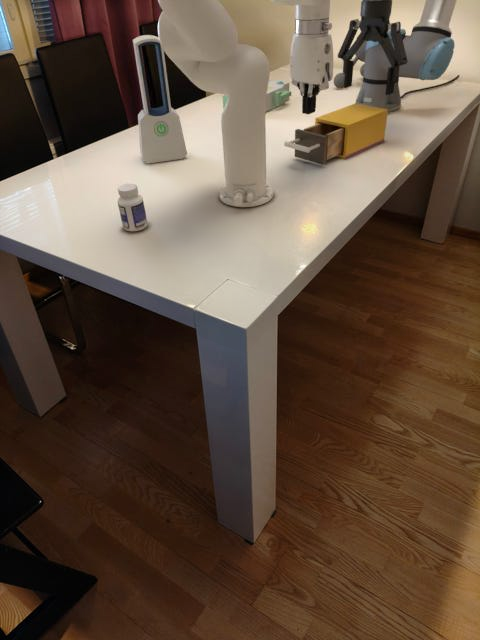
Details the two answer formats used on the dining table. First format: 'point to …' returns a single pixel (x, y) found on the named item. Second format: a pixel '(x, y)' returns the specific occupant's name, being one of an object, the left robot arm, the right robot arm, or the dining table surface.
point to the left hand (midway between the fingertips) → (308, 112)
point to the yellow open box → (358, 127)
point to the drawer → (318, 142)
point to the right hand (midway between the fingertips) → (367, 90)
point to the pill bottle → (131, 208)
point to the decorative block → (272, 94)
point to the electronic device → (157, 113)
